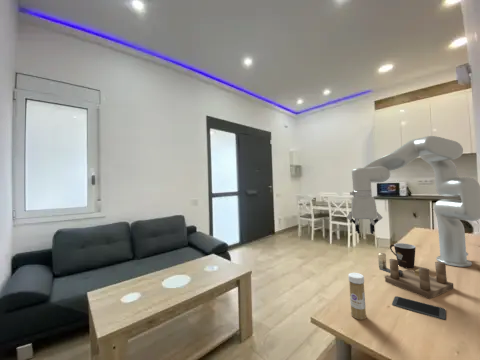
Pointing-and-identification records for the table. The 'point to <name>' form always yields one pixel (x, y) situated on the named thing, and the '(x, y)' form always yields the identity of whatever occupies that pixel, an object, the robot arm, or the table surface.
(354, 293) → the sprinkles bottle
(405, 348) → the table surface
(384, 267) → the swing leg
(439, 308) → the cell phone
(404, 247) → the coffee mug
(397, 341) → the table surface
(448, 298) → the table surface
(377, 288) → the table surface
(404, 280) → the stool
